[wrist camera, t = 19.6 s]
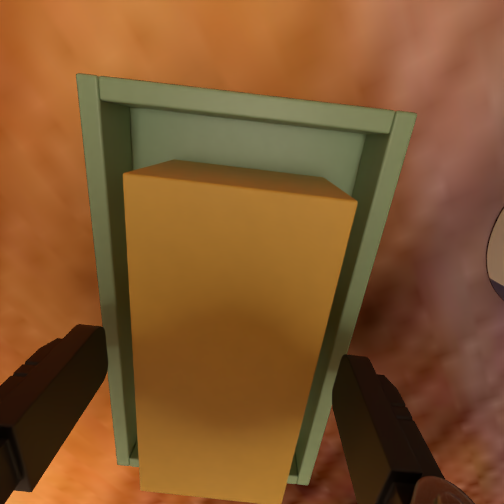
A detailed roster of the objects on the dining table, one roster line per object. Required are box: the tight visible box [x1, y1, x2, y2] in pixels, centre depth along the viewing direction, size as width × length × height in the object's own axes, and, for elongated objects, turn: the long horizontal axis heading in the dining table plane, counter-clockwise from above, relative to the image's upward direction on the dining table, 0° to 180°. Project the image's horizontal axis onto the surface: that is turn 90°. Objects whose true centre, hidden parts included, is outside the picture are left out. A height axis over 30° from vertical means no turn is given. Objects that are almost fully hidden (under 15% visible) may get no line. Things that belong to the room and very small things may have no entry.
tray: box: [76, 73, 417, 485], centre depth 12 cm, size 9×16×2 cm, turn 174°
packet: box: [123, 159, 358, 504], centre depth 11 cm, size 12×6×4 cm, turn 174°
